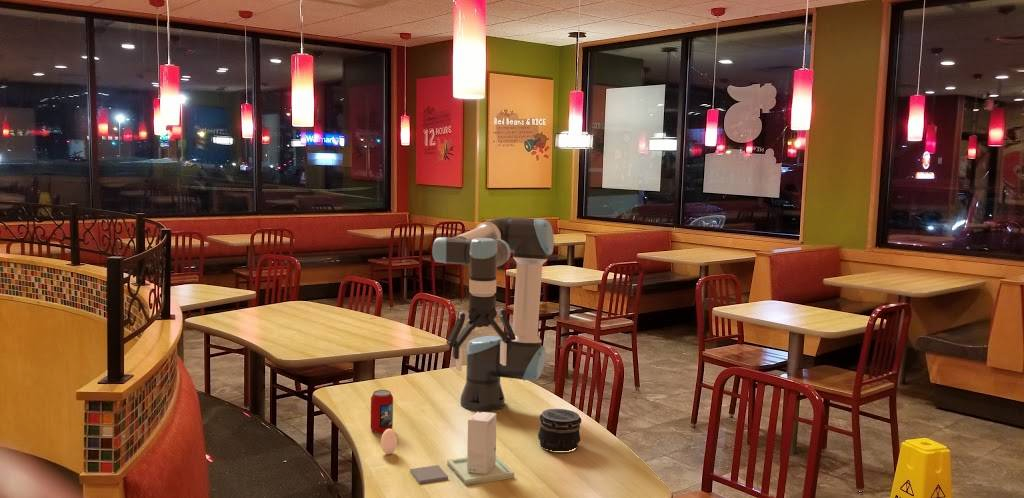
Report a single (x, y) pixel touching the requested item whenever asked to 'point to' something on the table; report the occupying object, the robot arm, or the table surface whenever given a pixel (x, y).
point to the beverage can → (381, 411)
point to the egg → (389, 441)
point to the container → (559, 429)
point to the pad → (429, 474)
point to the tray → (468, 478)
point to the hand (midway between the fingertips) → (481, 367)
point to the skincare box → (481, 443)
